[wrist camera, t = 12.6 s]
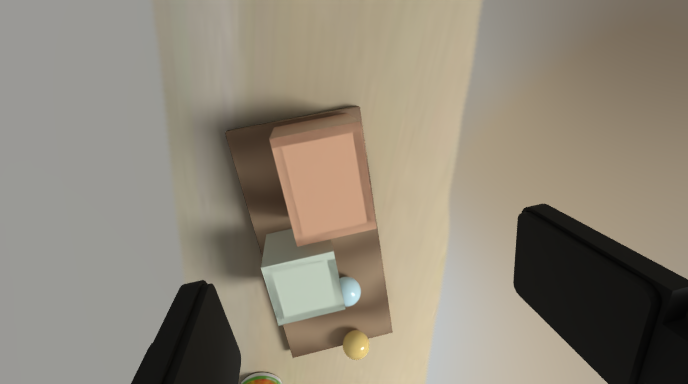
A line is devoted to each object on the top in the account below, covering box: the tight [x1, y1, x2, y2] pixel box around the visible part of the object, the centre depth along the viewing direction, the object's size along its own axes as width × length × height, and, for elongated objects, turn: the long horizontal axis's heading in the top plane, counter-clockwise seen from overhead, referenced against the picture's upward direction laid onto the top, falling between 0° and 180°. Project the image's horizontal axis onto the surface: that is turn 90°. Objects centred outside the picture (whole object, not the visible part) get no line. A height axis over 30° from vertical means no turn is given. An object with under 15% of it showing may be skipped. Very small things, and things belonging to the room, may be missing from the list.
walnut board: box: [225, 106, 392, 358], centre depth 33 cm, size 26×12×1 cm, turn 10°
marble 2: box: [343, 330, 369, 360], centre depth 35 cm, size 3×3×3 cm
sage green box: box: [261, 229, 346, 326], centre depth 30 cm, size 6×6×6 cm
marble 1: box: [339, 277, 361, 307], centre depth 33 cm, size 3×3×3 cm
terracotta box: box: [269, 113, 377, 247], centre depth 27 cm, size 9×7×6 cm
